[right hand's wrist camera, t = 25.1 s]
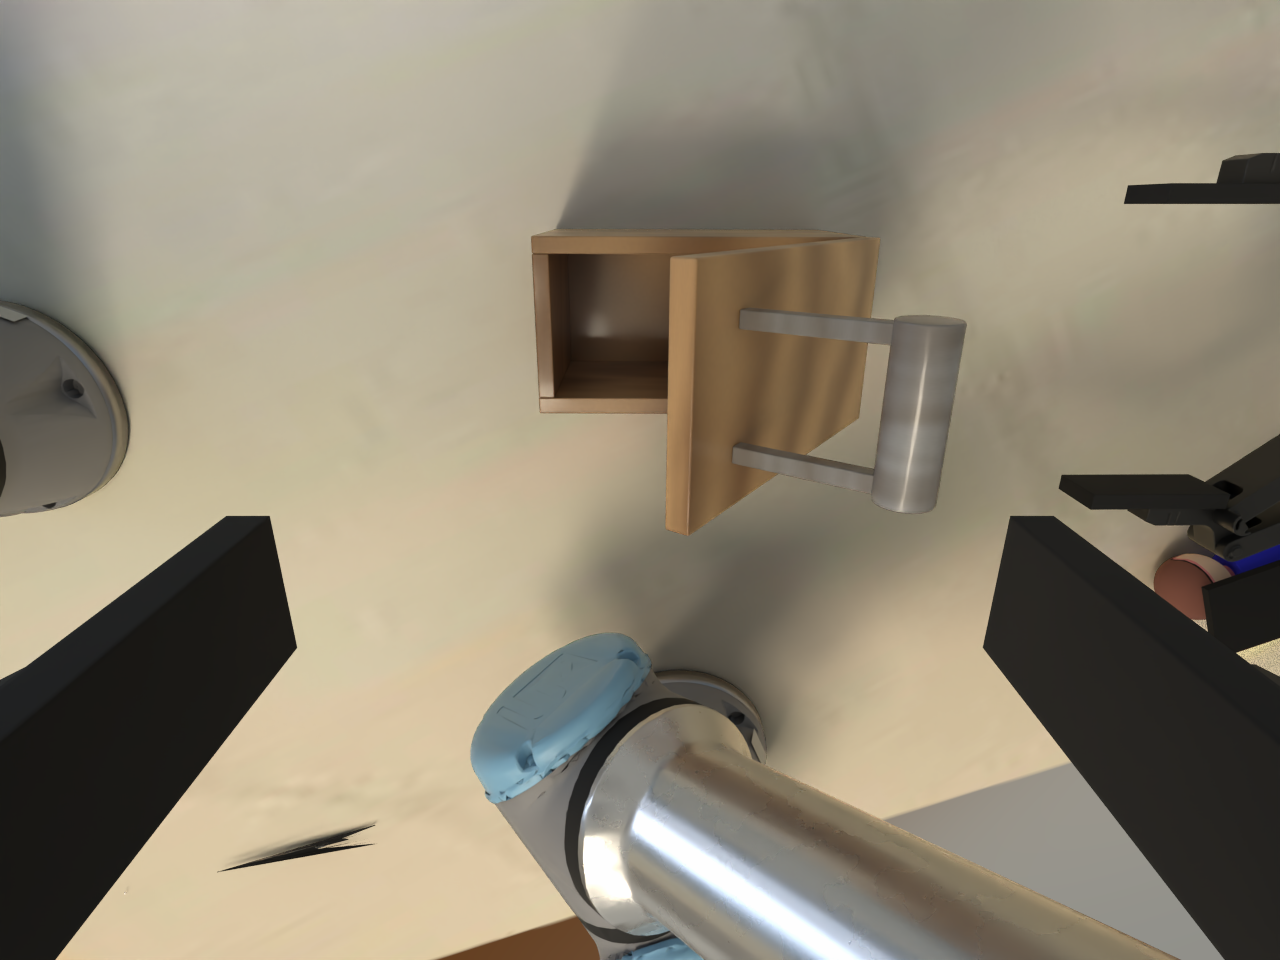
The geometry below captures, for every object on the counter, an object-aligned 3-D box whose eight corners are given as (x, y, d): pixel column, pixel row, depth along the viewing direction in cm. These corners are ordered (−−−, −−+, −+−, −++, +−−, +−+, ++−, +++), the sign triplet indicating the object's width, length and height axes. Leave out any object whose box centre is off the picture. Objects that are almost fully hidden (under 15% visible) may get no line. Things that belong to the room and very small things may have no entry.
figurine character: (1313, 473, 55) (1132, 549, 55) (1426, 508, 48) (1217, 595, 48) (1319, 544, 57) (1144, 617, 58) (1427, 588, 50) (1227, 670, 50)
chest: (560, 370, 51) (539, 413, 40) (554, 229, 47) (530, 235, 37) (805, 371, 51) (847, 414, 40) (818, 229, 47) (867, 236, 37)
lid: (664, 530, 26) (898, 598, 21) (669, 256, 22) (949, 270, 18) (841, 415, 40) (1004, 442, 36) (861, 237, 37) (1044, 242, 32)
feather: (132, 878, 70) (115, 887, 68) (384, 820, 66) (373, 827, 64) (135, 897, 70) (117, 906, 68) (388, 839, 66) (376, 847, 64)
